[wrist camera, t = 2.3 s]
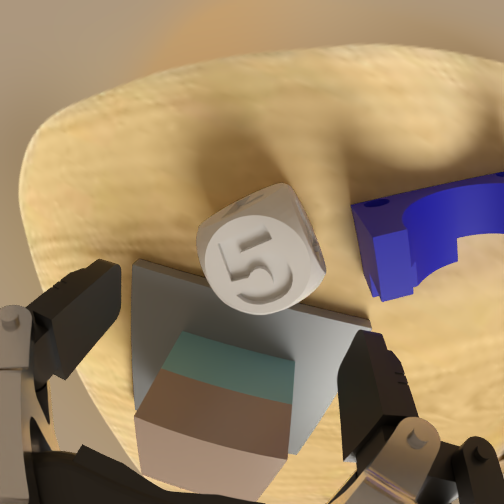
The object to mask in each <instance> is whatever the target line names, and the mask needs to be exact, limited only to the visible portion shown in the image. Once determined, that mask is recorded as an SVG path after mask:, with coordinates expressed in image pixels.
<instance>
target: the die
mask: <svg viewBox="0 0 504 504" xmlns="http://www.w3.org/2000/svg"><path fill="white" fill-rule="evenodd" d="M196 246H197V253H198V257H199V261H200V264H201V267H202V270H203V272H204V275H205V277H206V279H207V281H208V283H209V284H210V286H211V288H212V289H213V291H214V292H215V294H216V295H217V296H218V297H219V298H220V299H221V300H222V301H223V302H224V303H225V304H227V305H228V306H230V307H232V308H234V309H236V310H239V311H241V312H245V313H248V314H254V315H266V314H271V313H275V312H278V311H281V310H284V309H286V308H289V307H291V306H293V305H295V304H296V303H298V302H300V301H301V300H303V299H304V298H306V297H307V296H309V295H310V294H311V293H312V292H313V291H314V290H315V289H316V288H317V287H318V286H319V285H320V283H321V282H322V280H323V278H324V276H325V274H326V266H325V262H324V258H323V255H322V252H321V249H320V246H319V243H318V241H317V238H316V235H315V233H314V231H313V228H312V226H311V223H310V221H309V219H308V217H307V215H306V212H305V210H304V208H303V206H302V204H301V202H300V201H299V199H298V197H297V195H296V194H295V192H294V190H293V189H292V188H291V186H290V185H287V184H285V183H278V184H275V185H272V186H269V187H266V188H264V189H261V190H259V191H257V192H254V193H252V194H250V195H248V196H246V197H244V198H242V199H240V200H238V201H236V202H234V203H232V204H230V205H229V206H227V207H225V208H223V209H222V210H220V211H218V212H217V213H215V214H214V215H212V216H211V217H209V218H208V219H206V220H205V221H204V222H203V223H201V224H200V226H199V228H198V232H197V237H196Z"/></svg>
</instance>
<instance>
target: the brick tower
mask: <svg viewBox="0 0 504 504" xmlns="http://www.w3.org/2000/svg"><path fill="white" fill-rule="evenodd" d="M360 329H361V330H366V331H371V330H372V327H371V323H370V320H367V319H363V318H358V317H354V316H350V315H346V314H342V313H337V312H333V311H329V310H325V309H321V308H317V307H313V306H309V305H305V304H301V303H296V304H295V305H293V306H291V307H289V308H286V309H284V310H281V311H278V312H275V313H271V314H266V315H254V314H248V313H245V312H241V311H239V310H236V309H234V308H232V307H230V306H228V305H227V304H225V303H224V302H223V301H222V300H221V299H220V298H219V297H218V296H217V295H216V294H215V292H214V291H213V289H212V288H211V286H210V284H209V283H208V281H207V279H206V278H204V277H200V276H197V275H193V274H190V273H186V272H183V271H179V270H176V269H172V268H169V267H166V266H162V265H159V264H155V263H152V262H149V261H145V260H142V259H138V260H137V261H136V262H135V263H134V264H133V265H132V294H131V342H132V370H133V388H134V401H135V410H137V412H136V414H135V415H134V421H135V430H136V438H137V446H138V453H139V460H140V466H141V472H142V474H143V475H145V476H148V477H151V478H153V479H156V480H159V481H162V482H164V483H167V484H170V485H173V486H176V487H179V488H182V489H186V490H189V491H192V492H196V493H199V494H219V495H223V496H227V497H232V498H237V499H242V500H247V501H253V502H256V501H257V500H258V498H259V497H260V496H261V495H262V493H263V492H264V491H265V489H266V488H267V487H268V486H269V484H270V483H271V482H272V480H273V479H274V478H275V476H276V475H277V473H278V472H279V471H280V469H281V468H282V467H283V465H284V464H285V462H286V461H287V457H288V453H289V454H295V455H297V454H298V452H299V451H300V449H301V448H302V446H303V445H304V444H305V442H306V441H307V439H308V438H309V436H310V435H311V433H312V432H313V430H314V429H315V427H316V426H317V424H318V423H319V421H320V420H321V418H322V416H323V415H324V413H325V412H326V410H327V409H328V407H329V405H330V404H331V402H332V400H333V399H334V397H335V395H336V394H337V392H338V388H337V374H338V370H339V367H340V364H341V362H342V360H343V358H344V356H345V355H346V353H347V351H348V349H349V347H350V345H351V343H352V341H353V339H354V336H355V335H356V333H357V332H358V330H360Z"/></svg>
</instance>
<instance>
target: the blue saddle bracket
mask: <svg viewBox="0 0 504 504" xmlns="http://www.w3.org/2000/svg"><path fill="white" fill-rule="evenodd" d="M351 209H352V214H353V219H354V223H355V228H356V233H357V238H358V244H359V249H360V254H361V260H362V266H363V272H364V276H365V279H366V281H367V284H368V286H369V289H370V291H371V294H372V297H377V296H380V299H381V301H382V302H384V301H388V300H392V299H396V298H400V297H403V296H407V295H411V294H413V287H416V286H418V285H419V284H420V283H421V282H422V280H424V279H425V278H426V277H427V276H428V275H430V274H431V273H432V272H434V271H436V270H437V269H439V268H441V267H443V266H446V265H448V264H451V263H454V262H457V261H458V254H457V238H459V237H464V236H469V235H476V234H487V233H500V234H504V172H499V173H494V174H489V175H484V176H479V177H474V178H470V179H465V180H460V181H455V182H451V183H446V184H441V185H437V186H432V187H427V188H423V189H418V190H414V191H409V192H405V193H400V194H396V195H392V196H387V197H383V198H378V199H374V200H370V201H365V202H361V203H357V204H353V205H351Z"/></svg>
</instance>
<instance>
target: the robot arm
mask: <svg viewBox="0 0 504 504" xmlns="http://www.w3.org/2000/svg"><path fill="white" fill-rule="evenodd" d="M120 308H121V267H120V266H119V265H118V264H115V263H112V262H109V261H106V260H102V259H98V260H96V261H95V262H93V263H92V264H91V265H89V266H88V267H87V268H82V269H80V270H77V271H74V272H71V273H69V274H68V275H67V276H65V277H64V278H63V279H61V281H60V282H57V283H56V284H55V285H53V288H50V289H48V290H47V291H46V292H44V293H43V294H42V295H41V296H39V297H38V298H37V299H36V300H34V301H33V302H32V303H31V304H29V305H28V306H27V307H22V306H19V305H9V306H4V307H2V308H0V504H265V503H259V502H253V501H247V500H242V499H237V498H232V497H227V496H223V495H219V494H197V493H182V492H172V491H166V490H164V489H162V488H160V487H158V486H156V485H155V484H153V483H152V482H150V481H148V480H147V479H145V478H144V477H142V476H141V475H139V474H137V473H136V472H135V471H133V470H132V469H130V468H129V467H127V466H126V465H124V464H123V463H121V462H119V461H116V460H114V459H112V458H110V457H107V456H105V455H103V454H101V453H99V452H97V451H95V450H92V449H91V448H89V447H87V446H84V445H83V444H82V446H81V447H80V449H79V451H78V453H72V452H66V451H60V448H59V445H58V442H57V439H56V436H55V431H54V423H53V414H52V404H51V392H50V391H51V390H50V382H49V379H50V377H51V376H52V375H53V374H54V375H56V376H58V377H60V378H62V379H64V380H66V379H67V378H68V377H69V375H70V374H71V373H72V372H73V370H74V369H75V368H76V367H77V366H78V364H79V363H80V362H81V361H82V360H83V358H84V357H85V356H86V355H87V353H88V352H89V351H90V350H91V349H92V347H93V346H94V345H95V344H96V343H97V342H98V340H99V339H100V338H101V337H102V336H103V334H104V333H105V332H106V331H107V330H108V329H109V327H110V326H111V325H112V324H113V323H114V322H115V320H116V319H117V317H118V315H119V312H120ZM404 374H405V373H404V370H403V367H402V365H401V362H400V361H399V359H398V358H397V357H396V356H395V354H394V353H393V352H392V351H389V350H387V347H386V344H385V341H384V338H383V336H382V334H380V333H376V332H371V331H366V330H361V329H360V330H358V332H357V333H356V335H355V336H354V339H353V341H352V343H351V345H350V347H349V349H348V351H347V353H346V355H345V356H344V358H343V360H342V362H341V364H340V367H339V370H338V374H337V388H338V398H339V409H340V421H341V434H342V450H343V462H356V464H357V469H356V470H355V471H354V472H353V473H352V475H351V476H350V477H349V478H348V479H347V480H346V482H345V483H344V484H343V485H342V486H341V487H340V489H339V490H338V491H337V492H336V493H335V494H334V495H333V496H332V497H331V499H330V500H329V501H328V502H327V503H326V504H451V503H452V502H453V501H454V500H456V499H457V498H459V503H460V504H504V478H503V474H502V471H501V468H500V464H499V461H498V458H497V455H496V452H495V450H494V448H493V447H492V445H491V444H490V443H489V442H488V441H487V440H485V439H484V438H481V437H477V436H474V437H470V438H468V439H467V440H466V441H465V442H464V443H463V444H462V445H461V446H456V445H453V444H449V443H446V442H443V441H440V436H439V434H438V432H437V430H436V429H435V427H434V426H433V425H432V424H431V423H429V422H428V421H426V420H424V419H422V418H419V416H418V413H417V410H416V407H415V403H414V400H413V397H412V394H411V391H410V388H409V385H407V384H408V382H407V379H406V376H404Z"/></svg>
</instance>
